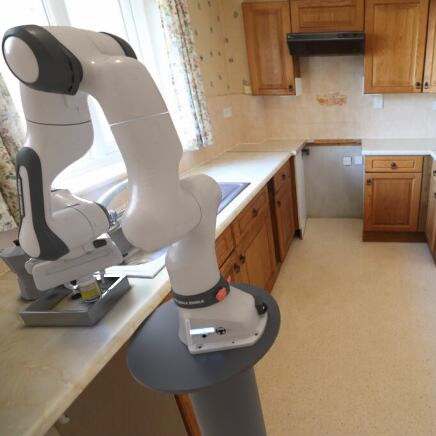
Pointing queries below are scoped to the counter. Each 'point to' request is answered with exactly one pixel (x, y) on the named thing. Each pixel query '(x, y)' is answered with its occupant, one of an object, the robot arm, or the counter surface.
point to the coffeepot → (21, 270)
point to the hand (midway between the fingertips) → (89, 287)
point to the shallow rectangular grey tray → (41, 317)
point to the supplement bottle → (89, 288)
